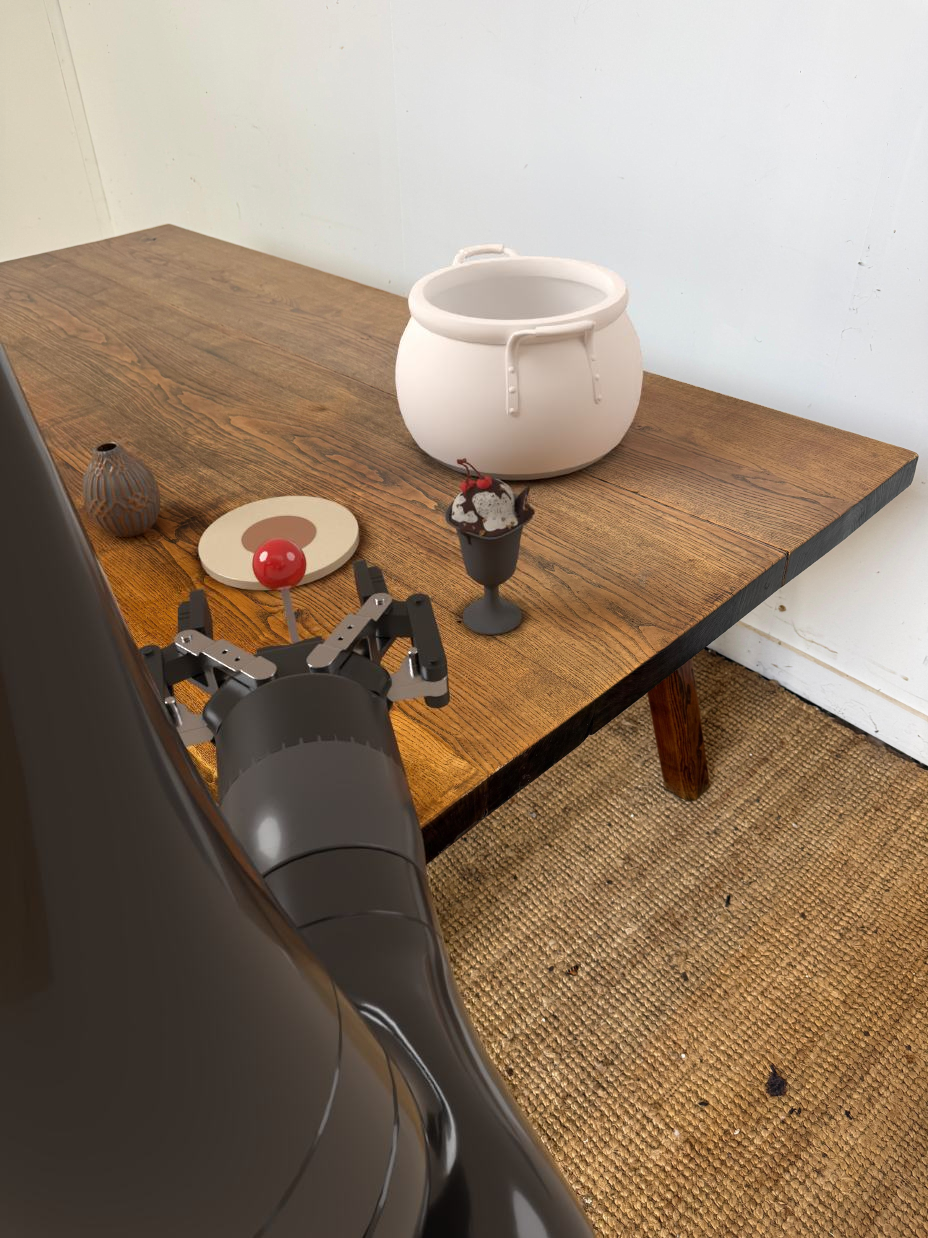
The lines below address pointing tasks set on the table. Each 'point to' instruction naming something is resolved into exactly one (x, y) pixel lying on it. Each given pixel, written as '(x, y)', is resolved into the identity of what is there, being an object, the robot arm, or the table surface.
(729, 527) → the table surface
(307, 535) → the plate
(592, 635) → the table surface
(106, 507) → the vase
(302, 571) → the red ball joystick
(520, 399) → the pot
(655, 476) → the table surface
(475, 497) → the sundae
